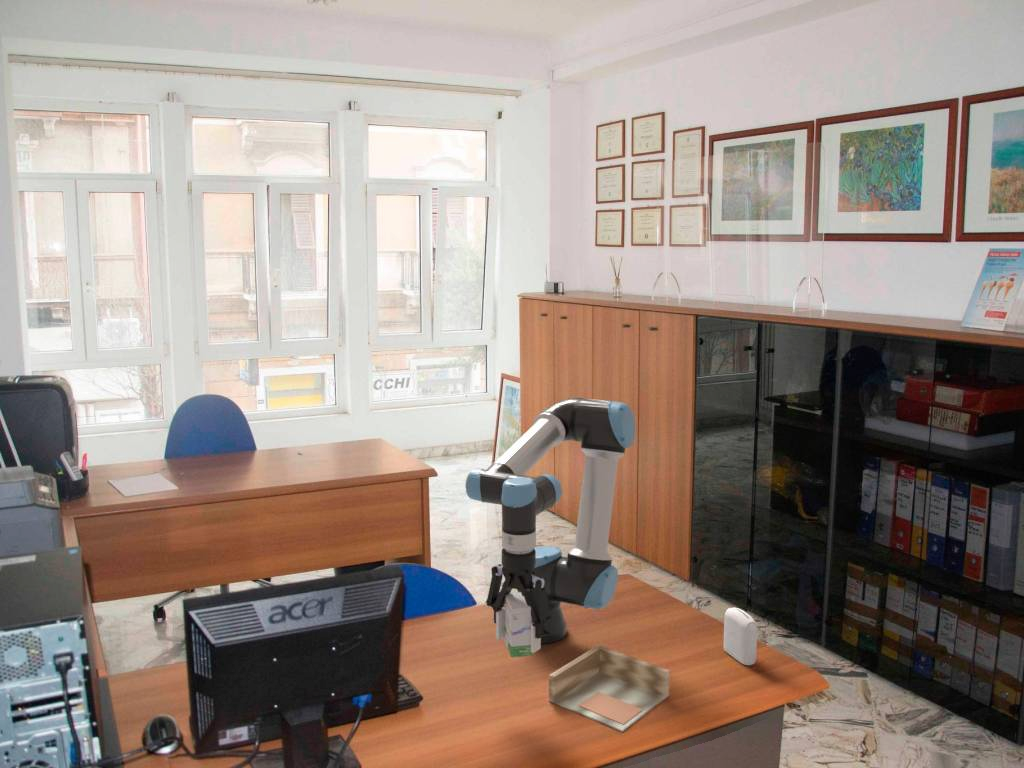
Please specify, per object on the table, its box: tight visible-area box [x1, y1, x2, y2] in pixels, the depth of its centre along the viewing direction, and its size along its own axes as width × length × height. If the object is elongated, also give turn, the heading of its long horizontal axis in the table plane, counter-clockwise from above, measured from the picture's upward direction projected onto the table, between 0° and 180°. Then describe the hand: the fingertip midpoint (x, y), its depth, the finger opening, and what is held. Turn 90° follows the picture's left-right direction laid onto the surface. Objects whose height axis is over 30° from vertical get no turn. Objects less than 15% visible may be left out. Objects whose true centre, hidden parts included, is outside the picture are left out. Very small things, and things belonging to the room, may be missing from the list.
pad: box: [579, 692, 643, 725], centre depth 198 cm, size 12×8×1 cm, turn 50°
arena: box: [548, 644, 670, 733], centre depth 202 cm, size 20×20×6 cm
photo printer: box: [723, 607, 758, 666], centre depth 223 cm, size 10×4×12 cm, turn 20°
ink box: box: [503, 591, 533, 658], centre depth 195 cm, size 8×5×12 cm, turn 11°
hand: (518, 643), depth 196 cm, fingers closed on ink box, 9 cm apart
